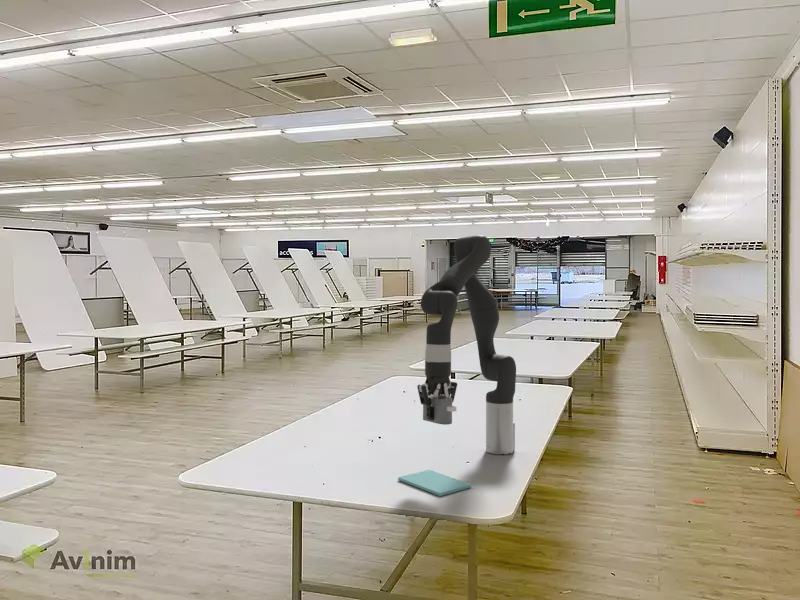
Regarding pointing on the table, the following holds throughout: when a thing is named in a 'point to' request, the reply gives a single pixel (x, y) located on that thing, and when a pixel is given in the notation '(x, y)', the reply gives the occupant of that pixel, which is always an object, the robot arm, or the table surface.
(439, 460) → the table surface
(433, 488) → the mat
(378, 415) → the table surface
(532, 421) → the table surface
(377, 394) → the table surface
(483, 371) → the robot arm
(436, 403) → the plug block
